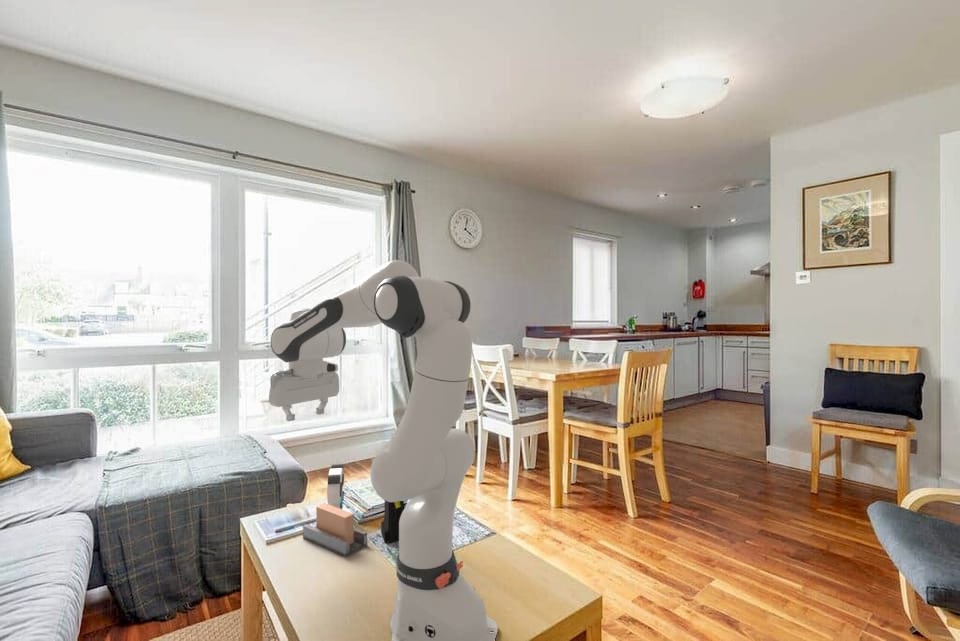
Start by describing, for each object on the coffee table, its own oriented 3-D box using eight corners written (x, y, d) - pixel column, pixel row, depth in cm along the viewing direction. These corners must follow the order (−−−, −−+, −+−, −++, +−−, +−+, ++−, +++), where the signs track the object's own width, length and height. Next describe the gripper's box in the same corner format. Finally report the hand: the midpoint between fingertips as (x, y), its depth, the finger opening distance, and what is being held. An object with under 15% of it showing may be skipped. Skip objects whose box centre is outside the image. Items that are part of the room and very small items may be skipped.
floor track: (367, 544, 123) (367, 532, 123) (345, 557, 117) (345, 544, 116) (324, 527, 132) (324, 515, 132) (303, 537, 126) (303, 525, 126)
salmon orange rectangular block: (353, 542, 123) (353, 513, 122) (344, 547, 120) (344, 517, 120) (325, 530, 129) (325, 503, 129) (316, 534, 126) (316, 507, 126)
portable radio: (407, 541, 125) (407, 453, 124) (385, 545, 123) (385, 455, 122) (401, 528, 132) (401, 445, 132) (380, 532, 130) (381, 447, 129)
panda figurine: (352, 524, 135) (352, 475, 134) (313, 527, 132) (313, 477, 132) (355, 507, 146) (355, 462, 146) (318, 510, 144) (319, 464, 144)
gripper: (278, 372, 112) (278, 427, 113) (342, 364, 129) (342, 412, 130) (263, 370, 116) (263, 423, 116) (328, 363, 133) (328, 409, 133)
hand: (305, 417), depth 123 cm, fingers open, 8 cm apart
